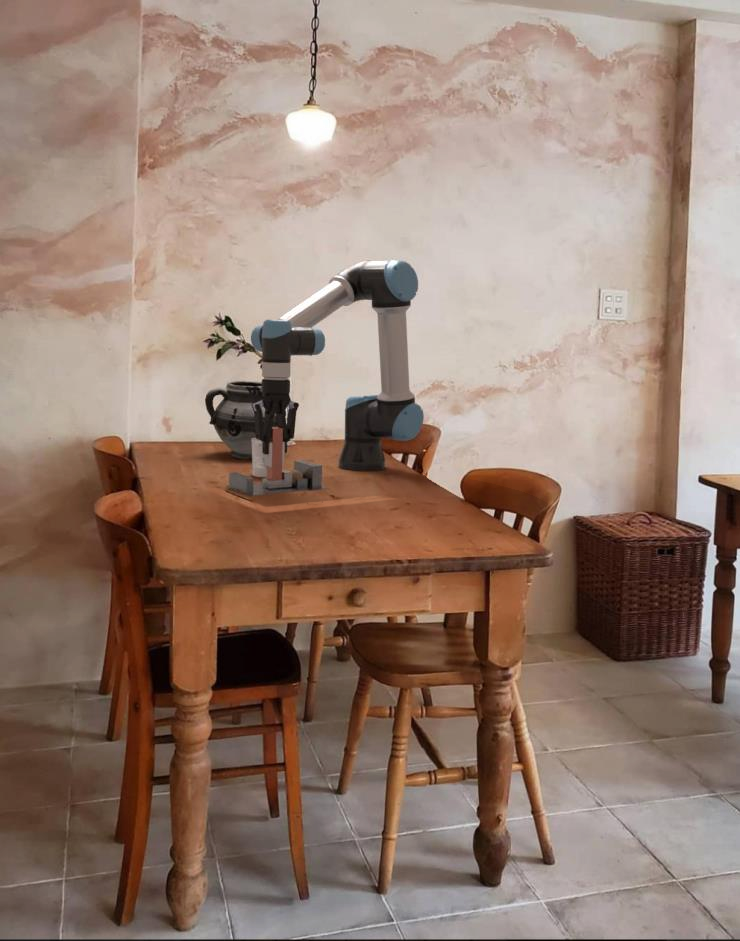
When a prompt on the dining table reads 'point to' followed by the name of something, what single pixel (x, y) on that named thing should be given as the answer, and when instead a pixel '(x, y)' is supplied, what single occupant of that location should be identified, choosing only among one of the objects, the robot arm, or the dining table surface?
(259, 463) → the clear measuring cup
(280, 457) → the ram handle
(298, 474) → the walnut
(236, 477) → the press base
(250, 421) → the ceramic pot
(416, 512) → the dining table surface
